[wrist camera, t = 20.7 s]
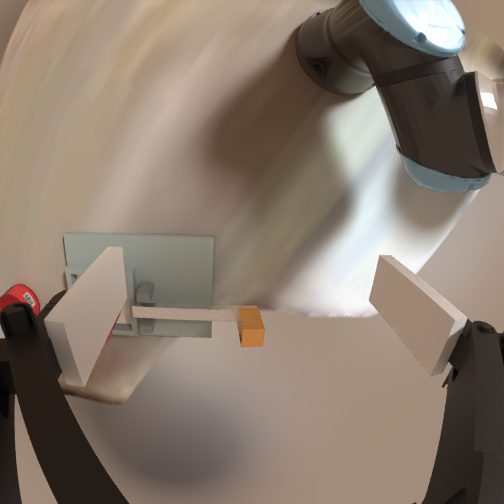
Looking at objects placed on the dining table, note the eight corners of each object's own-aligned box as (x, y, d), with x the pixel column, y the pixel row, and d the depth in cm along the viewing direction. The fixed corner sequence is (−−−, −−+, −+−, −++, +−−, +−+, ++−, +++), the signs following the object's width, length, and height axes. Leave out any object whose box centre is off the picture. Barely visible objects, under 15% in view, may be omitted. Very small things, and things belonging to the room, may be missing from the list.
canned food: (10, 277, 44) (-20, 304, 33) (41, 291, 45) (14, 321, 35) (11, 309, 46) (-15, 338, 35) (41, 323, 48) (17, 355, 37)
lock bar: (133, 298, 44) (122, 324, 38) (256, 302, 47) (264, 329, 40) (135, 315, 45) (125, 342, 38) (255, 319, 48) (262, 346, 41)
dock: (66, 232, 43) (51, 242, 38) (214, 236, 47) (214, 248, 41) (80, 325, 49) (70, 342, 43) (211, 333, 52) (211, 352, 47)
